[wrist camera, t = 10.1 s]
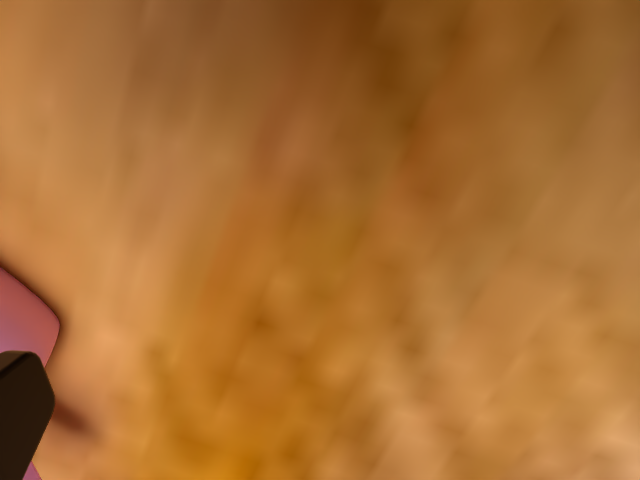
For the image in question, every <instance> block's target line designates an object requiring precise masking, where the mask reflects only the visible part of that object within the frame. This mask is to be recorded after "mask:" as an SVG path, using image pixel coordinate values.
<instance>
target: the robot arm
mask: <svg viewBox="0 0 640 480" xmlns="http://www.w3.org/2000/svg"><path fill="white" fill-rule="evenodd" d="M54 407H55V395H54V392H53V389H52V386H51V384H50V381H49V379H48V376H47V374H46V371H45V368H44V366H43V363H42V361H41V359H40V357H39V356H38V355H37V354H36V353H34V352H31V351H18V350H9V351H4V352H2V353H0V480H23V478H24V476H25V473H26V471H27V469H28V467H29V465H30V462H31V460H32V458H33V456H34V454H35V451H36V449H37V447H38V445H39V443H40V440H41V438H42V436H43V434H44V431H45V429H46V427H47V425H48V423H49V420H50V418H51V416H52V414H53V411H54Z"/></svg>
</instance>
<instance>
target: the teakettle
mask: <svg viewBox="0 0 640 480" xmlns="http://www.w3.org/2000/svg"><path fill="white" fill-rule="evenodd" d="M59 328H60V323H59V320H58V318H57V317H56V315H55V314H54V313H53V311H52V310H51V309H50V308H49V307H48V306H47V305H46V304H45V303H44V302H43V301H42V300H41V299H40V298H39V297H37V296H36V295H35V294H34V293H33V292H31V291H30V290H29V289H28V288H27V287H25V286H24V285H23V284H22V283H21V282H19V281H18V280H17V279H15V278H14V277H13V276H12V275H10V274H9V273H8V272H6V271H5V270H4V269H2V268H1V267H0V353H2V352H4V351H9V350H18V351H31V352H34V353H36V354H37V355H38V356H39V357H40V359H41V361H42V363H43V366H44V368H45V366H46V364H47V361H48V359H49V357H50V355H51V352H52V350H53V348H54V345H55V342H56V339H57V336H58V333H59ZM23 480H42V479H41V478H40V476H39V474H38V472H37V470H36V468H35V466H34V465H33V463H32V461H31V462H30V465H29V467H28V469H27V471H26V473H25V476H24V478H23Z"/></svg>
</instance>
